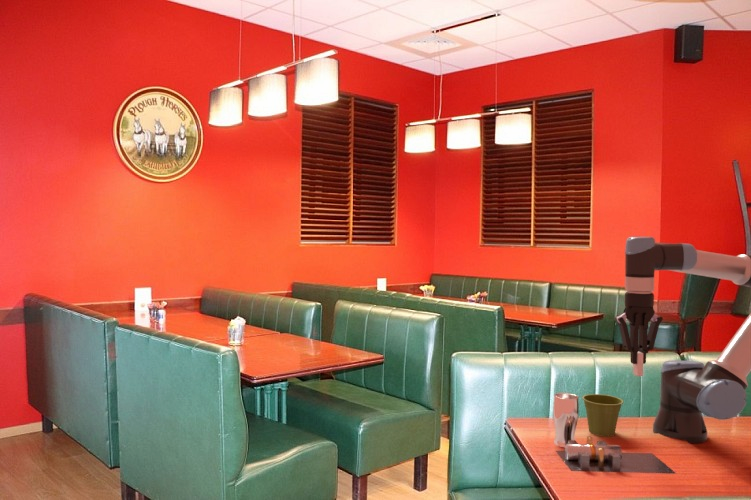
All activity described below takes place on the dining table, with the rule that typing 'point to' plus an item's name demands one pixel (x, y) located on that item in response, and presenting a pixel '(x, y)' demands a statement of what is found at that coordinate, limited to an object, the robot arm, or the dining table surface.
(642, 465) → the steam engine
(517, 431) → the dining table surface
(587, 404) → the plant pot
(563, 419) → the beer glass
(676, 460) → the dining table surface
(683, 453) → the dining table surface
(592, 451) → the tube
